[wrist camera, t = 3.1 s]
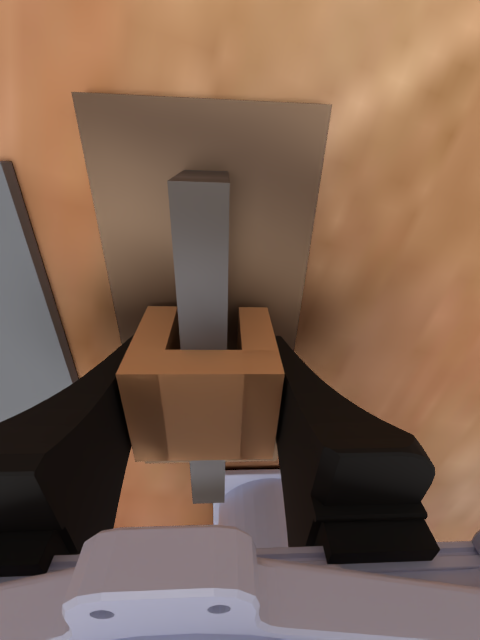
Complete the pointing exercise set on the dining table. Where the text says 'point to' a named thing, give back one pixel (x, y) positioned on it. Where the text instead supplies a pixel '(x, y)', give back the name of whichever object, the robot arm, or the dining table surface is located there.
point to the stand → (204, 216)
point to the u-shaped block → (201, 391)
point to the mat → (26, 312)
